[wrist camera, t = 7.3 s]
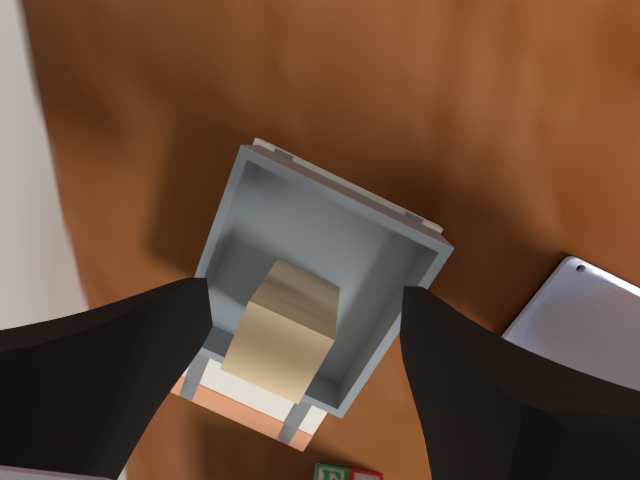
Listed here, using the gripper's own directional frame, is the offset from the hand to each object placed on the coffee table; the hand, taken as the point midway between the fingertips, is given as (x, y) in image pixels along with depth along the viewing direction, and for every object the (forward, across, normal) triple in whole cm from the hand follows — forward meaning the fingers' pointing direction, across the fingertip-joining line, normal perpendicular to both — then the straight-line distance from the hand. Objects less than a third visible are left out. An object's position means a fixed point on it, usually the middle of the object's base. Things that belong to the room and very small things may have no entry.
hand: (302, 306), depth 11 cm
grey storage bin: (+9, +1, +2) cm, 10 cm away
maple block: (+6, +2, +3) cm, 7 cm away
